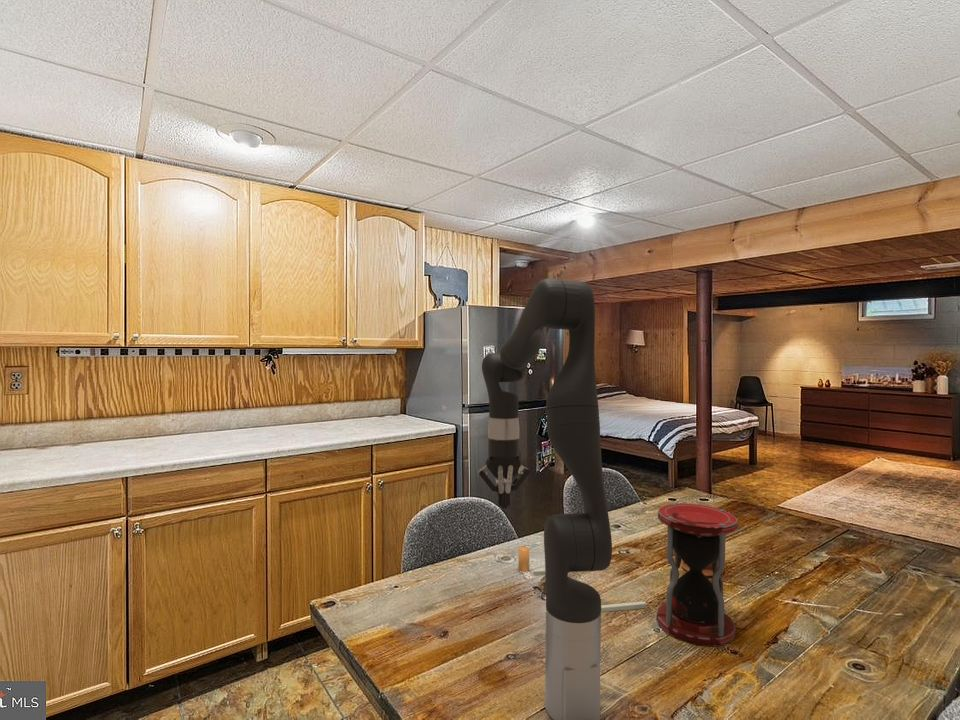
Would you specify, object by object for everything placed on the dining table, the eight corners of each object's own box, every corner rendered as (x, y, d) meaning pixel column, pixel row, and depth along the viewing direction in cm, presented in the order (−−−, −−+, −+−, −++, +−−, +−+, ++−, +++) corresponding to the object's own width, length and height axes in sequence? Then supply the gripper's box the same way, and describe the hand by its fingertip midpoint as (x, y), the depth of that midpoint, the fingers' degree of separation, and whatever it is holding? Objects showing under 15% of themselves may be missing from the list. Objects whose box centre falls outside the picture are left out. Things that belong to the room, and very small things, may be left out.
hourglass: (641, 614, 118) (642, 506, 118) (696, 602, 124) (698, 499, 123) (693, 653, 103) (695, 530, 103) (753, 638, 109) (755, 521, 108)
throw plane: (654, 616, 117) (654, 590, 117) (551, 626, 113) (551, 599, 113) (600, 561, 147) (600, 541, 147) (517, 568, 142) (517, 546, 142)
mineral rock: (532, 572, 135) (561, 564, 135) (537, 588, 135) (566, 579, 136) (540, 594, 124) (572, 584, 125) (545, 610, 125) (576, 601, 125)
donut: (683, 576, 138) (683, 561, 138) (678, 561, 148) (679, 547, 148) (724, 580, 136) (724, 565, 136) (716, 565, 146) (717, 551, 145)
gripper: (479, 439, 119) (479, 514, 119) (534, 437, 121) (534, 511, 121) (473, 434, 126) (473, 504, 126) (526, 432, 128) (526, 502, 128)
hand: (503, 507), depth 124 cm, fingers closed
